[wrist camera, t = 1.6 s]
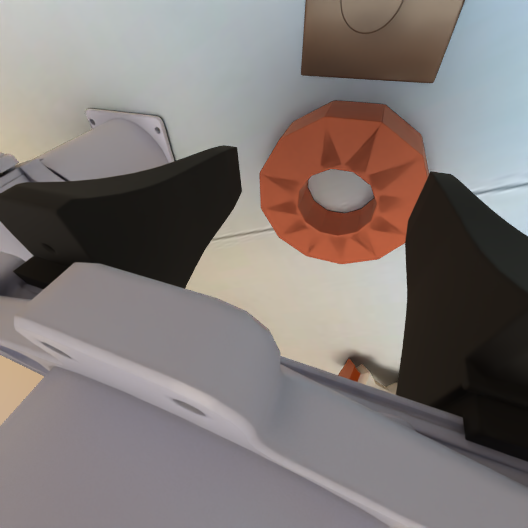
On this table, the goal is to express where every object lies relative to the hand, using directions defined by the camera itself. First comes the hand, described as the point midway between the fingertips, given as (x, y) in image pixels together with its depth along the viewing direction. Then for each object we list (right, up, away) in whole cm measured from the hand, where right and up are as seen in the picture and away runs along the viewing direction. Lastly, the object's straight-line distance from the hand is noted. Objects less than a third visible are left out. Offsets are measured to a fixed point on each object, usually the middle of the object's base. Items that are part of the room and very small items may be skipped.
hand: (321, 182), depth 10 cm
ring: (+4, +3, +10) cm, 11 cm away
